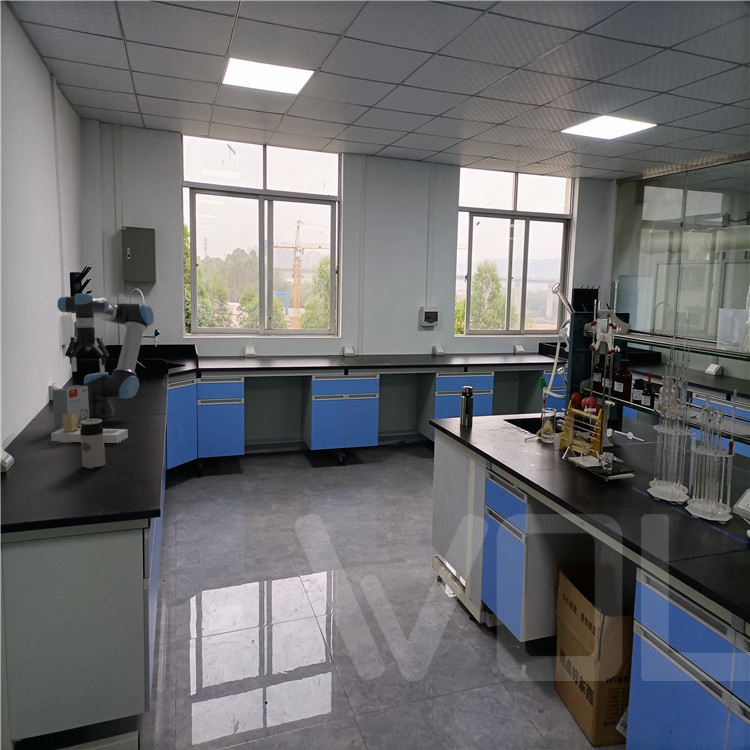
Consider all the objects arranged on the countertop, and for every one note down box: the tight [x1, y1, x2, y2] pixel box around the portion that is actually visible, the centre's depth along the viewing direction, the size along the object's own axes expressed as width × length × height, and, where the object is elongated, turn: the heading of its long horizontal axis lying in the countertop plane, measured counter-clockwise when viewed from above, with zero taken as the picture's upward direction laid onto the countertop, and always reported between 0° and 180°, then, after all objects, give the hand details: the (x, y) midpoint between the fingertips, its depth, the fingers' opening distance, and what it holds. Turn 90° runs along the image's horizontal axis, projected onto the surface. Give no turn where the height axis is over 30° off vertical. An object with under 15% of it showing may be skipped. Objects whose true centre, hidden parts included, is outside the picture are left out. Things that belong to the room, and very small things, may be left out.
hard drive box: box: [52, 384, 89, 432], centre depth 277 cm, size 16×8×20 cm, turn 168°
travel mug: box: [80, 419, 106, 469], centre depth 221 cm, size 8×8×18 cm
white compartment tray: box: [50, 427, 129, 444], centre depth 258 cm, size 10×30×4 cm, turn 87°
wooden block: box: [62, 413, 77, 433], centre depth 258 cm, size 4×4×12 cm
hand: (88, 371), depth 270 cm, fingers open, 13 cm apart
